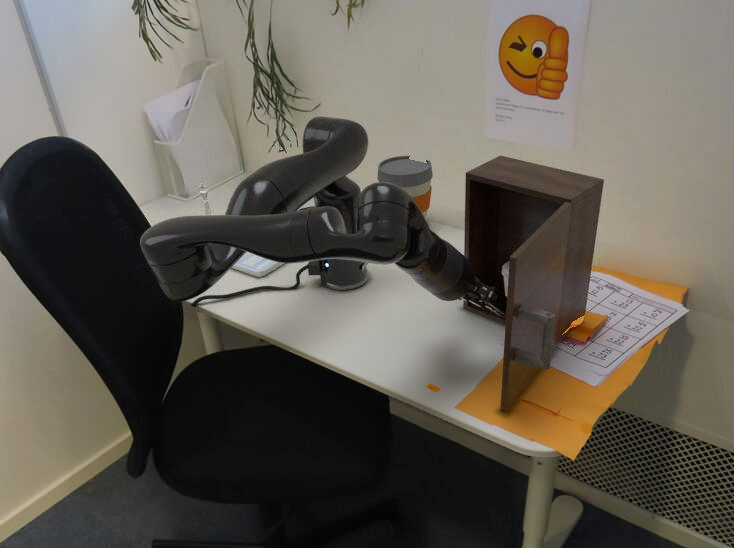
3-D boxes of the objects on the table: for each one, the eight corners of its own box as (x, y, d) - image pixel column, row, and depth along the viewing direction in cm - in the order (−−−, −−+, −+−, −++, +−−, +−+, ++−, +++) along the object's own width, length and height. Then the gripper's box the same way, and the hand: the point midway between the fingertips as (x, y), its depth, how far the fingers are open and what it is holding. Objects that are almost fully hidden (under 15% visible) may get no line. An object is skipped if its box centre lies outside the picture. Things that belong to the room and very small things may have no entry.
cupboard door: (584, 356, 117) (606, 209, 101) (537, 424, 104) (554, 267, 88) (549, 346, 120) (565, 201, 104) (500, 411, 107) (509, 256, 91)
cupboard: (554, 345, 120) (571, 199, 104) (463, 308, 132) (465, 172, 116) (584, 321, 125) (604, 179, 110) (493, 288, 137) (500, 155, 121)
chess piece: (203, 217, 175) (195, 179, 169) (222, 217, 174) (214, 179, 169) (197, 225, 171) (188, 187, 165) (216, 225, 170) (208, 187, 165)
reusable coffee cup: (424, 240, 156) (423, 177, 148) (372, 235, 160) (368, 173, 151) (439, 217, 166) (439, 156, 157) (390, 213, 170) (387, 153, 161)
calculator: (240, 235, 165) (238, 227, 164) (302, 254, 155) (301, 246, 154) (198, 257, 157) (196, 249, 156) (260, 279, 146) (259, 271, 145)
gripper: (393, 276, 107) (440, 308, 120) (466, 306, 99) (508, 337, 112) (414, 233, 107) (459, 270, 120) (490, 259, 99) (528, 295, 112)
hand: (482, 302), depth 116 cm, fingers open, 8 cm apart
